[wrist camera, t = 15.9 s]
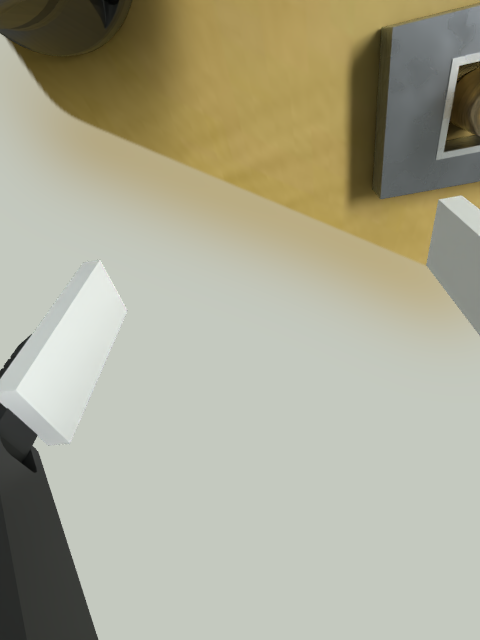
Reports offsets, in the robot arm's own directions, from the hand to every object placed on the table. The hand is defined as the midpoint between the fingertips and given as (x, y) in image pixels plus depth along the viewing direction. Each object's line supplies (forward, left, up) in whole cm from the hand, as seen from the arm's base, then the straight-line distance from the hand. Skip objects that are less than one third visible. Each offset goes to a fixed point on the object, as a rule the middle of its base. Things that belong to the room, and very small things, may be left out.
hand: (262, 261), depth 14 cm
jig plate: (+2, +21, -27) cm, 34 cm away
